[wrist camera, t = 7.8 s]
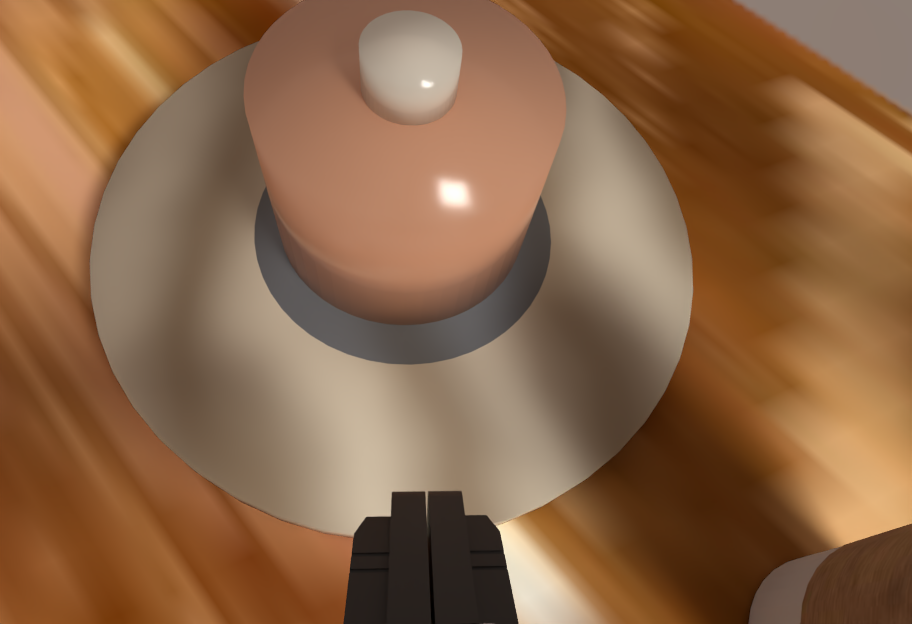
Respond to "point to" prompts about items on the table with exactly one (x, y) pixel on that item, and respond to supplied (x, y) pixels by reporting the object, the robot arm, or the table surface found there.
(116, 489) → the table surface
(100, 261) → the serving board
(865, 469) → the table surface
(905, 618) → the coffee cup
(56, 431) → the table surface
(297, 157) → the knobbed pink canister
